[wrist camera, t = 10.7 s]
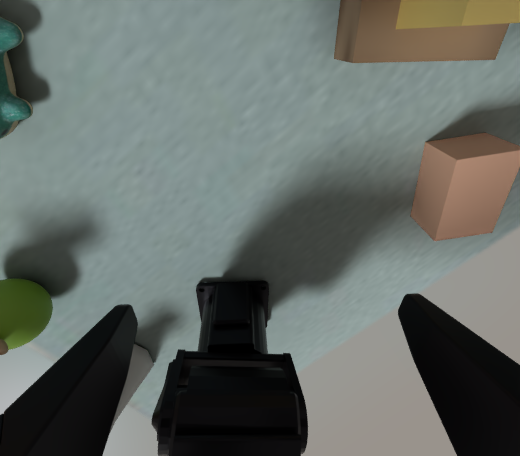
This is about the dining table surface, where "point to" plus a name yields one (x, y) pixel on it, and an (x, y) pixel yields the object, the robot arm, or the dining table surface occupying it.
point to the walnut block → (408, 37)
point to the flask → (134, 376)
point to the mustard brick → (456, 13)
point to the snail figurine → (22, 312)
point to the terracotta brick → (464, 185)
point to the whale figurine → (10, 81)
